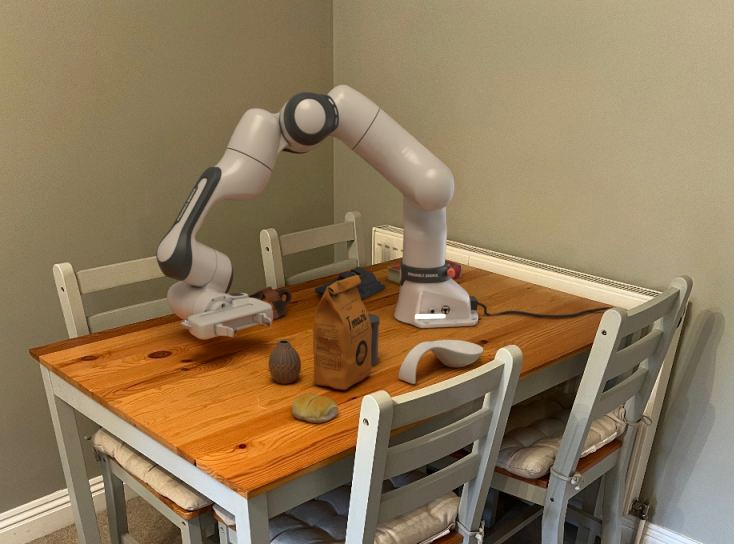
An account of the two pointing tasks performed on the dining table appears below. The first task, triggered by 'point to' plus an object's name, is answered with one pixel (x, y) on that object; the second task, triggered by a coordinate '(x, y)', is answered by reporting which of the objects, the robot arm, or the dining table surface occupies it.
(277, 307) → the brown grey irregular piece
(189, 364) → the dining table surface
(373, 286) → the folded navy cloth
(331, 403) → the bread roll
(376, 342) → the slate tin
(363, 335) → the coffee package
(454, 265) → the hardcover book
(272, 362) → the vase
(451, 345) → the spoon rest
